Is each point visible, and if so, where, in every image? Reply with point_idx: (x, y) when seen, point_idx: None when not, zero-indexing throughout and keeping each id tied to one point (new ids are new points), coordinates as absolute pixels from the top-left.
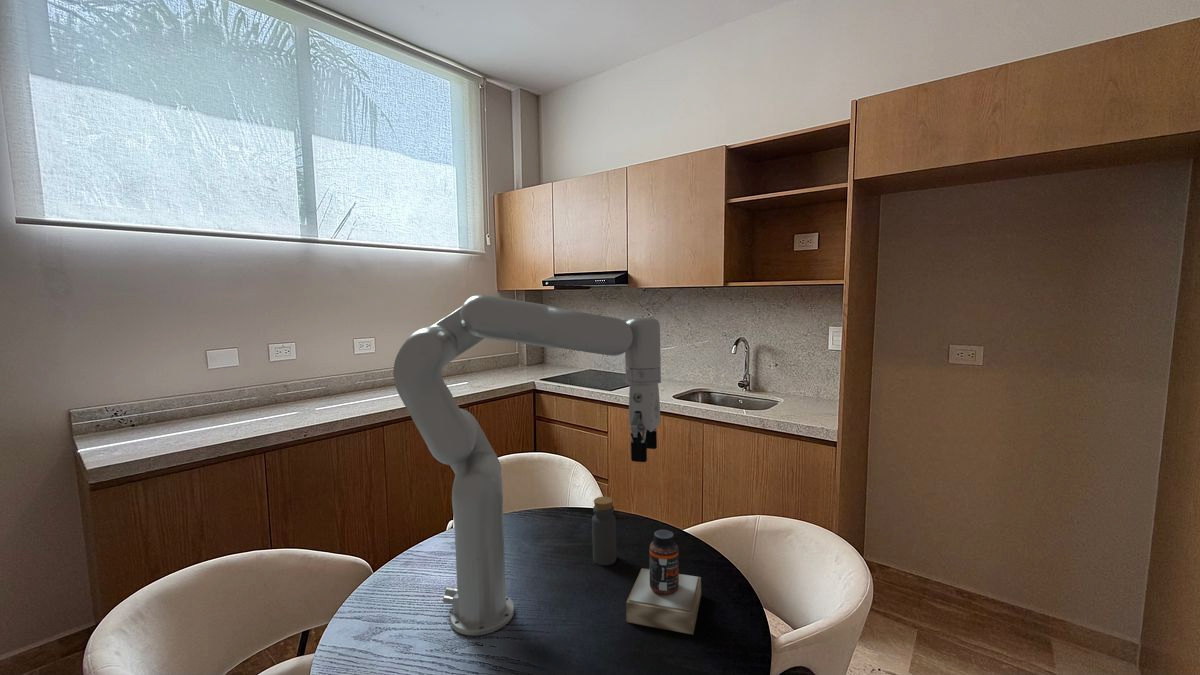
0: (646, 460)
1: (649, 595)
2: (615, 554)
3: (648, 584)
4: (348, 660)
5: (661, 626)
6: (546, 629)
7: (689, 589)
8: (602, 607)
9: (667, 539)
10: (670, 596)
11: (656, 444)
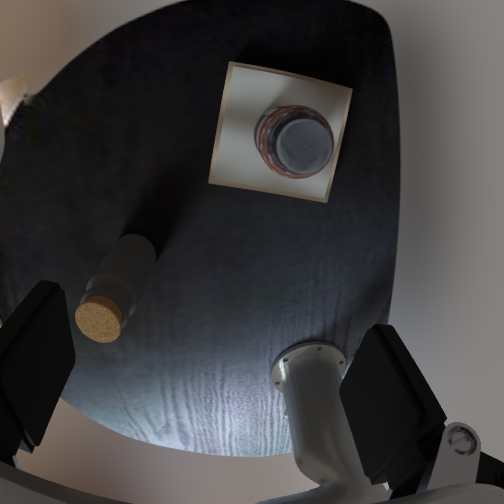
0: (391, 326)
1: None
2: (134, 239)
3: None
4: None
5: None
6: (334, 297)
7: (283, 86)
8: (282, 234)
9: (330, 137)
10: None
11: (37, 294)
